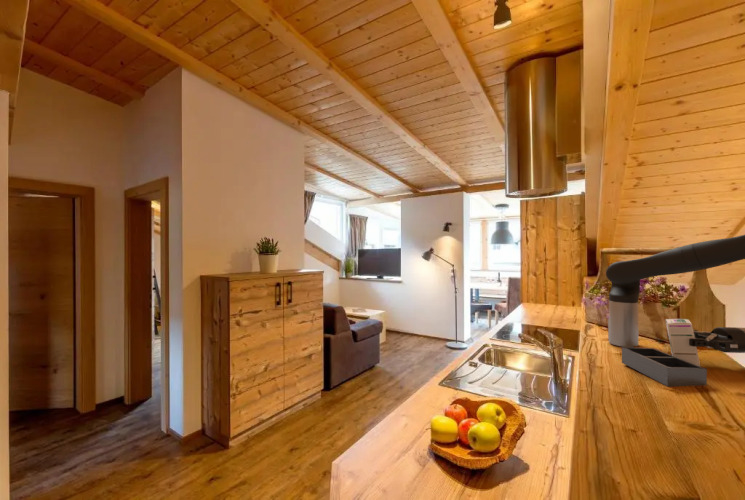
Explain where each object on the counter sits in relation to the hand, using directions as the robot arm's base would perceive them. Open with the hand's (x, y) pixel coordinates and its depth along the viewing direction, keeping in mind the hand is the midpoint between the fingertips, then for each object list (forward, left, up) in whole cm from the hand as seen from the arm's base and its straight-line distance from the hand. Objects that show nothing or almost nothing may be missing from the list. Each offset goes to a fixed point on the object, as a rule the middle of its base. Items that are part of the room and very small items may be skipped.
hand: (679, 338), depth 100 cm
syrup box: (0, +2, -9) cm, 9 cm away
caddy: (+6, -9, -9) cm, 14 cm away
